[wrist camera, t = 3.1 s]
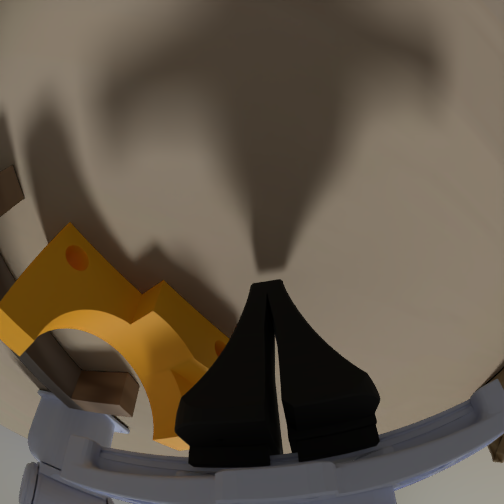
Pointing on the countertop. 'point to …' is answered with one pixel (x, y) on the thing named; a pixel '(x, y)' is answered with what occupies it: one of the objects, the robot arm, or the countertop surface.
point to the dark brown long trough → (56, 359)
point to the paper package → (500, 448)
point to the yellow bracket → (114, 322)
